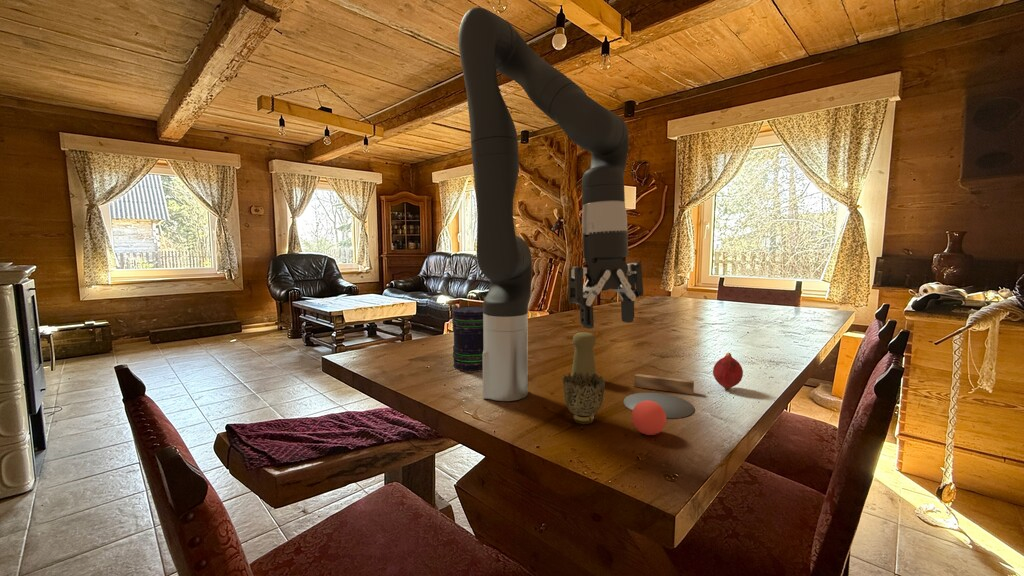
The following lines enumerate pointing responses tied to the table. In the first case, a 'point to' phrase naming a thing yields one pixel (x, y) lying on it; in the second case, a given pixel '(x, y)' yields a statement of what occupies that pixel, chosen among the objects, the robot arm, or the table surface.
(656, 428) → the ball
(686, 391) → the stopper rail
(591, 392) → the cup
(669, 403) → the gray disc
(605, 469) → the table surface
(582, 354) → the pestle
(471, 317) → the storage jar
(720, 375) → the onion
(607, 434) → the table surface
